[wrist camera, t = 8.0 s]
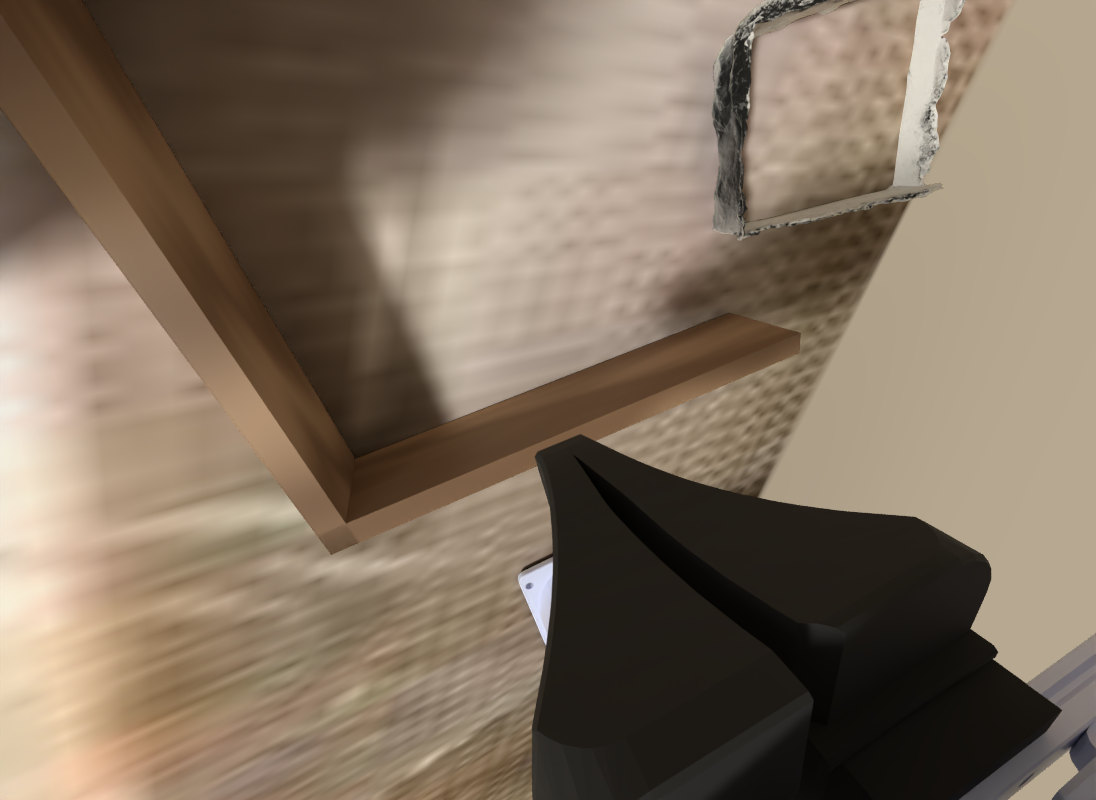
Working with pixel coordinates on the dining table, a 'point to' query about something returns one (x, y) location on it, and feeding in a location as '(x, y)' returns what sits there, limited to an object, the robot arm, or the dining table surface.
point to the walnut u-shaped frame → (252, 337)
